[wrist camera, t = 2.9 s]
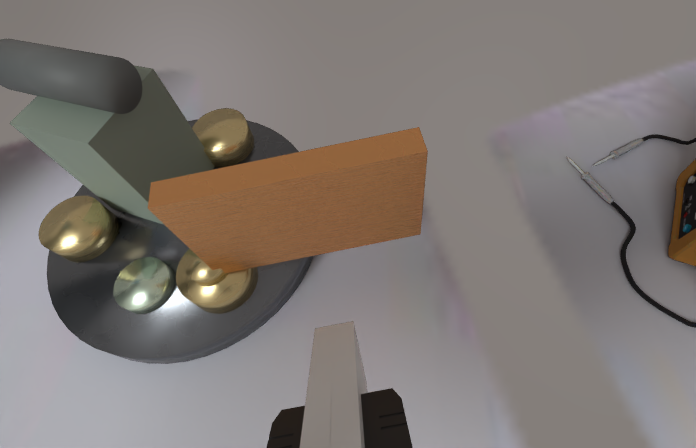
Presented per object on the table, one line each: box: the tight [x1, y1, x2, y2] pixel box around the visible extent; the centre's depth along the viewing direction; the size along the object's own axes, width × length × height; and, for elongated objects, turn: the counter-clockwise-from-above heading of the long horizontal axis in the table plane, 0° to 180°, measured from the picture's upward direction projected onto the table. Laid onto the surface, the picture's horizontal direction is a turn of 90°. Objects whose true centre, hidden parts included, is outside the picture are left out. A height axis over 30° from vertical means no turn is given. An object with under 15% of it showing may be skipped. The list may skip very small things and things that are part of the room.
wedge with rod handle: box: [0, 39, 214, 225], centre depth 25 cm, size 8×6×12 cm
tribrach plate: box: [39, 108, 313, 364], centre depth 28 cm, size 20×20×4 cm
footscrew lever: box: [148, 127, 428, 314], centre depth 21 cm, size 15×4×10 cm, turn 99°
